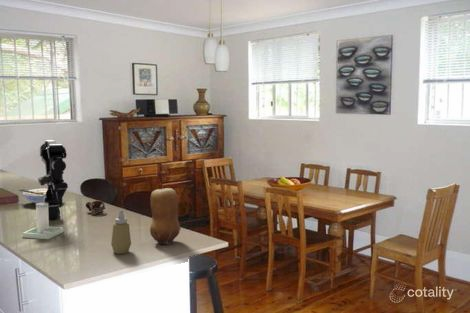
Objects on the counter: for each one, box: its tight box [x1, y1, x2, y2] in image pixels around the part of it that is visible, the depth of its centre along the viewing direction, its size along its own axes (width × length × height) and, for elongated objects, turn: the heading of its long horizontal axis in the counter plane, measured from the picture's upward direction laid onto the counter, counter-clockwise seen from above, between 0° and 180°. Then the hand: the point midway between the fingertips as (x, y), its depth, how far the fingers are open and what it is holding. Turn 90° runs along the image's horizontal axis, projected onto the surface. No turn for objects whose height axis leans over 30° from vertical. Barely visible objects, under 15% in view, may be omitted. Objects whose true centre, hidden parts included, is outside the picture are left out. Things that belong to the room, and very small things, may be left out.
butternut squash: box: [149, 187, 182, 245], centre depth 199 cm, size 14×13×25 cm
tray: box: [22, 226, 64, 240], centre depth 207 cm, size 13×13×3 cm
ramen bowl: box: [18, 188, 47, 204], centre depth 273 cm, size 25×23×8 cm
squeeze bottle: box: [110, 209, 132, 255], centre depth 186 cm, size 8×8×18 cm
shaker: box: [35, 202, 50, 234], centre depth 208 cm, size 5×5×14 cm
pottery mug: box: [85, 199, 106, 216], centre depth 252 cm, size 12×10×8 cm
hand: (57, 200), depth 223 cm, fingers open, 9 cm apart
